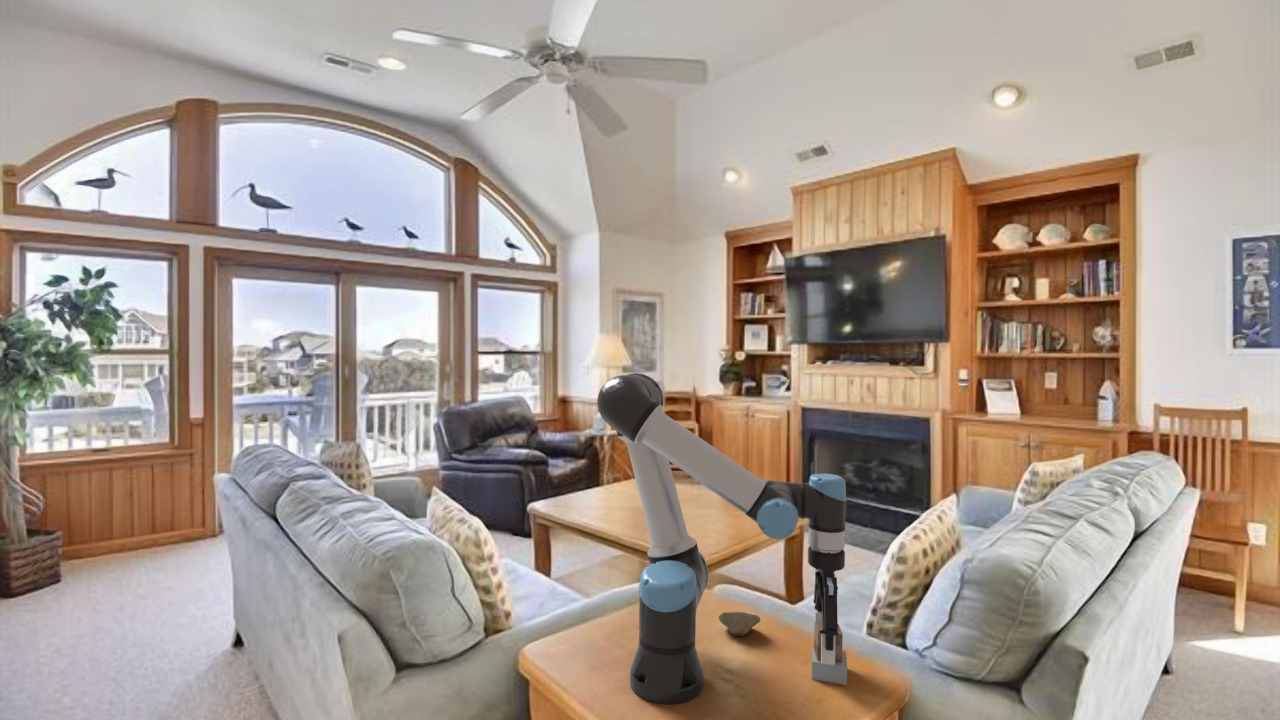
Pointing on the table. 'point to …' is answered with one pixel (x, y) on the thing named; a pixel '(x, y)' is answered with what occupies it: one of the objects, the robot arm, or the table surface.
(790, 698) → the table surface
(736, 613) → the fossil
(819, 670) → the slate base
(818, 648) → the walnut block
